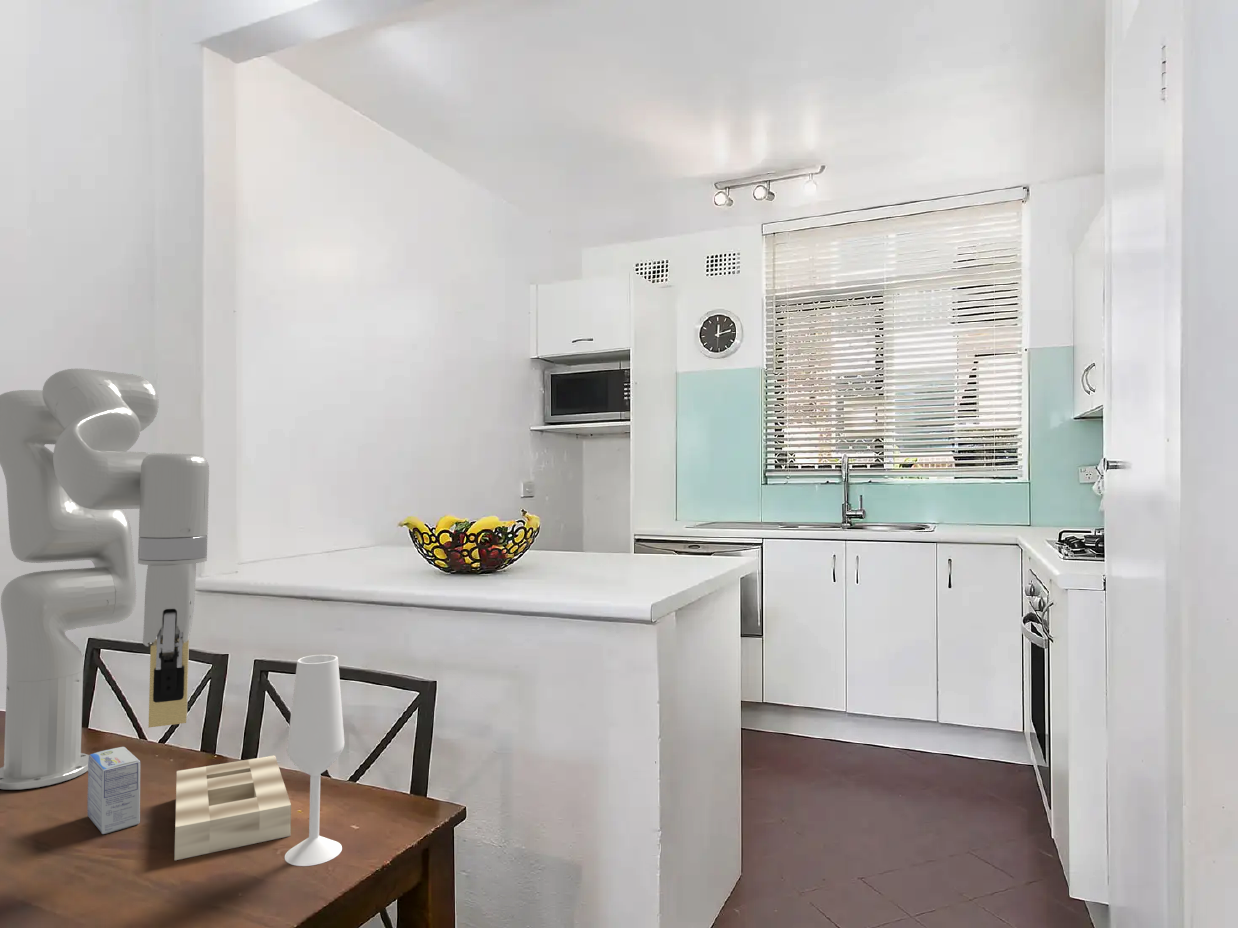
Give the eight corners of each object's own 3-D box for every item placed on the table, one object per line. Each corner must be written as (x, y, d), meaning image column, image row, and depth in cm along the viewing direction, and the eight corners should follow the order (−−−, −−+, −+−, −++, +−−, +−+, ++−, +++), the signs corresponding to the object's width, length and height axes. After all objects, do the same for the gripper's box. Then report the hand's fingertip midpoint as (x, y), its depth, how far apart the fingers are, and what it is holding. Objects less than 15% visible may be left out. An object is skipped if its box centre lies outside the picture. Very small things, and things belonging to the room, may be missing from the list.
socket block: (175, 798, 108) (176, 770, 108) (274, 781, 114) (274, 755, 114) (174, 860, 90) (175, 827, 90) (290, 835, 97) (291, 804, 97)
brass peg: (150, 718, 95) (153, 639, 95) (187, 713, 97) (189, 636, 97) (148, 727, 91) (150, 645, 91) (186, 722, 93) (188, 642, 93)
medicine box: (140, 824, 100) (142, 759, 100) (100, 836, 96) (102, 768, 97) (124, 806, 105) (125, 744, 105) (86, 816, 102) (87, 753, 102)
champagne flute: (272, 862, 90) (276, 663, 91) (307, 836, 97) (311, 651, 97) (320, 869, 89) (325, 667, 89) (353, 842, 95) (357, 654, 96)
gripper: (143, 545, 100) (140, 682, 100) (131, 558, 85) (127, 718, 85) (207, 544, 104) (204, 676, 103) (206, 555, 89) (202, 709, 88)
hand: (169, 693), depth 94 cm, fingers closed on brass peg, 4 cm apart
